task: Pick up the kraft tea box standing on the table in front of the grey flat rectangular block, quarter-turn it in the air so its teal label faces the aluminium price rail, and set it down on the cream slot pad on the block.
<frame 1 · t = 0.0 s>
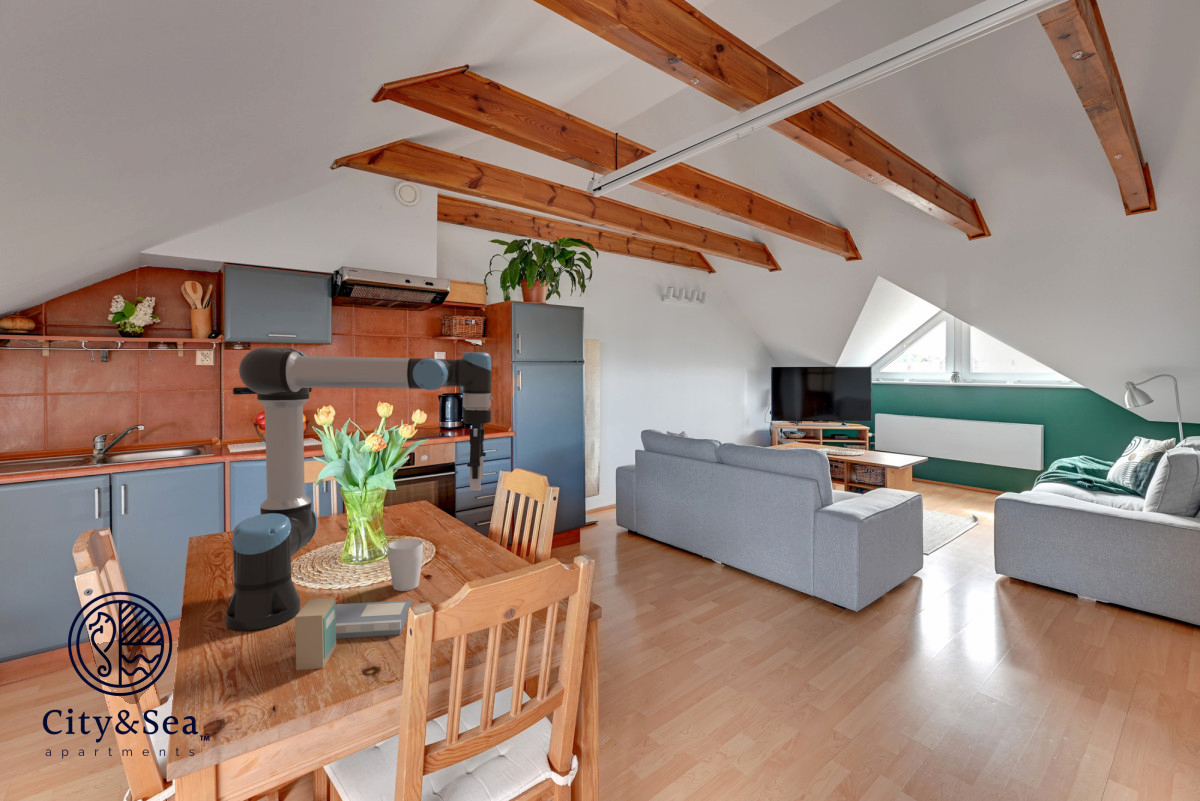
hand: (476, 484, 146), 28 cm above the table, fingers open, 13 cm apart
tea box: (317, 658, 110), on the table
cup: (405, 587, 145), on the table
grey flat rectangular block: (362, 621, 125), on the table
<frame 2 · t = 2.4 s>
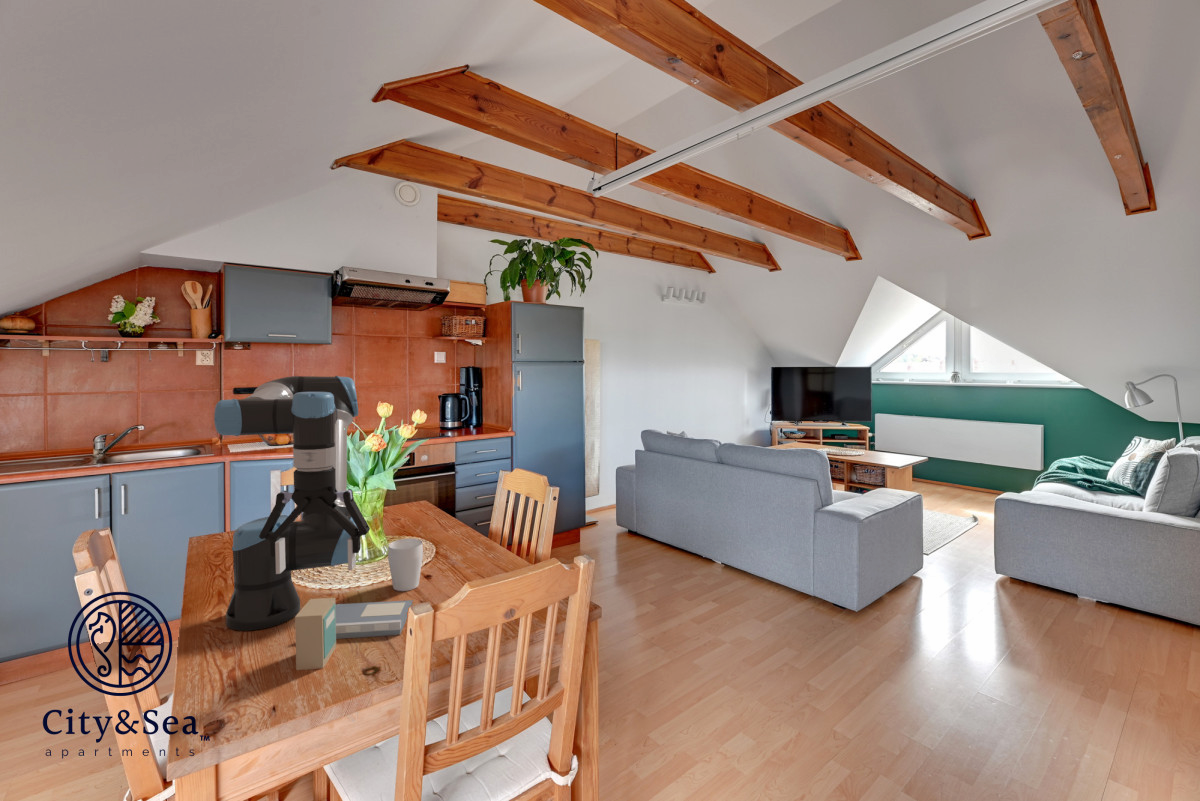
hand: (316, 569, 109), 19 cm above the table, fingers open, 13 cm apart
nothing on the table moved.
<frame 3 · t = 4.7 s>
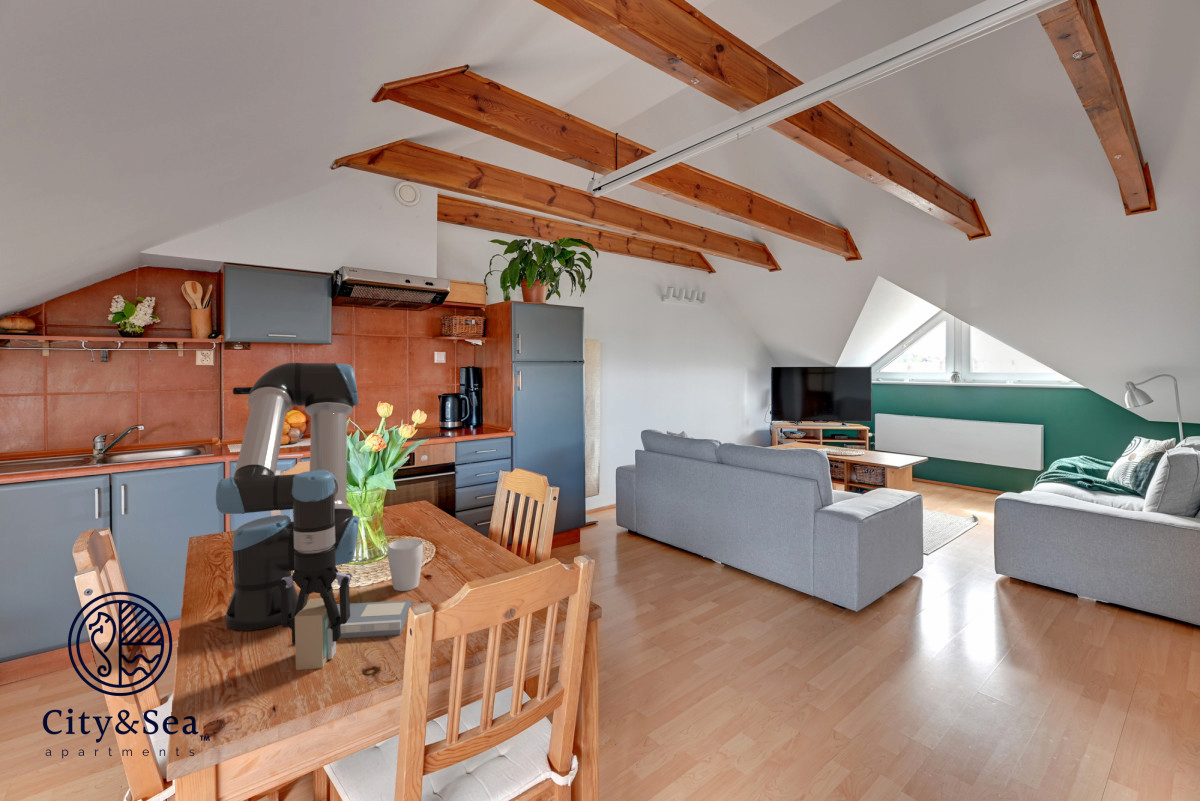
hand: (317, 656, 110), 0 cm above the table, fingers closed on tea box, 5 cm apart
tea box: (316, 657, 110), on the table, touching gripper
everything else where it was.
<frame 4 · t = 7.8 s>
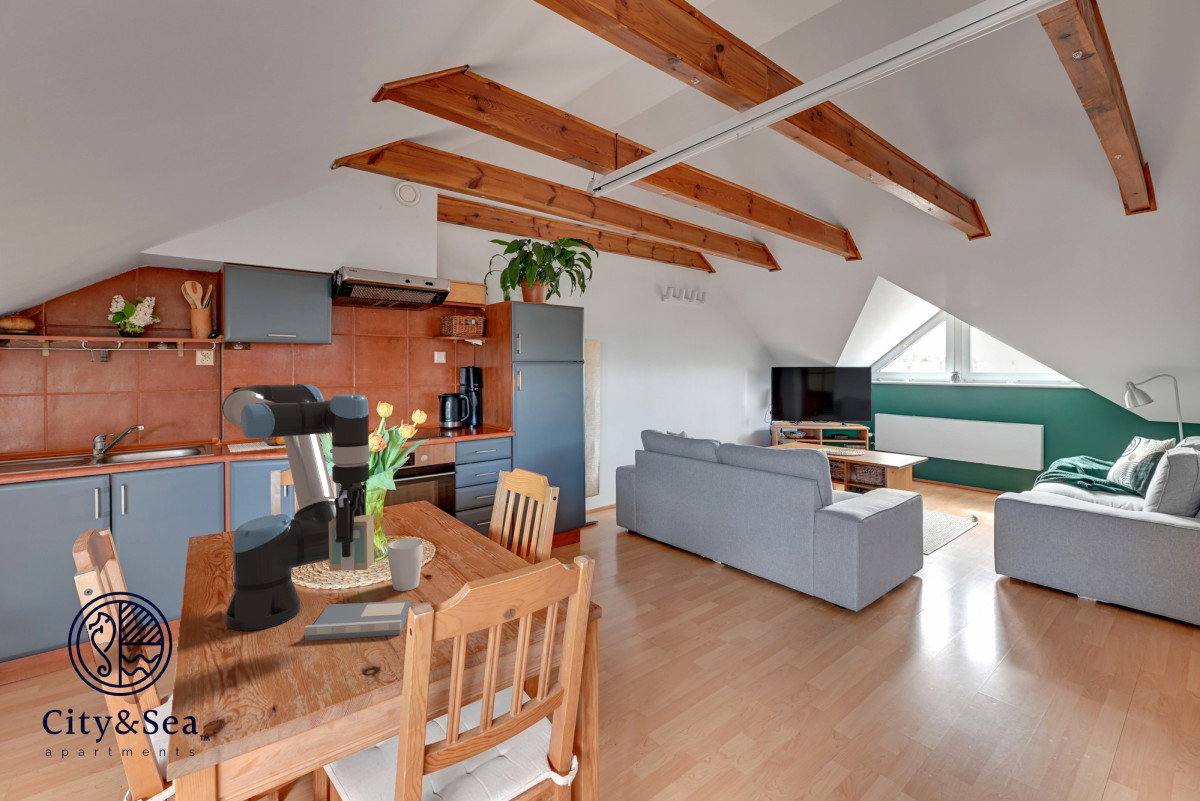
hand: (352, 564, 120), 16 cm above the table, fingers closed on tea box, 5 cm apart
tea box: (352, 566, 120), point 15 cm above the table, touching gripper
everything else where it was.
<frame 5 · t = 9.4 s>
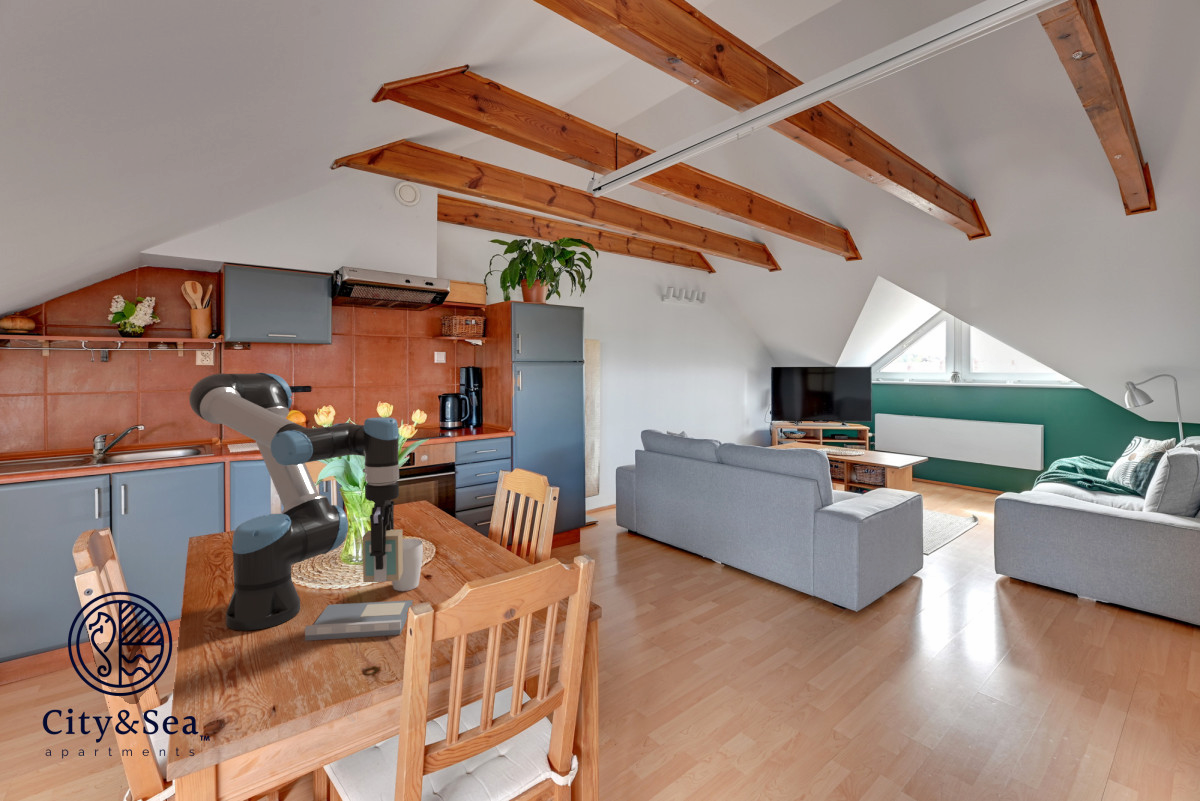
hand: (383, 576, 128), 10 cm above the table, fingers closed on tea box, 5 cm apart
tea box: (383, 577, 128), point 9 cm above the table, touching gripper
everything else where it was.
when the fingers open (3 cm above the table, at t = 10.9 s): tea box drops 1 cm, resting on grey flat rectangular block.
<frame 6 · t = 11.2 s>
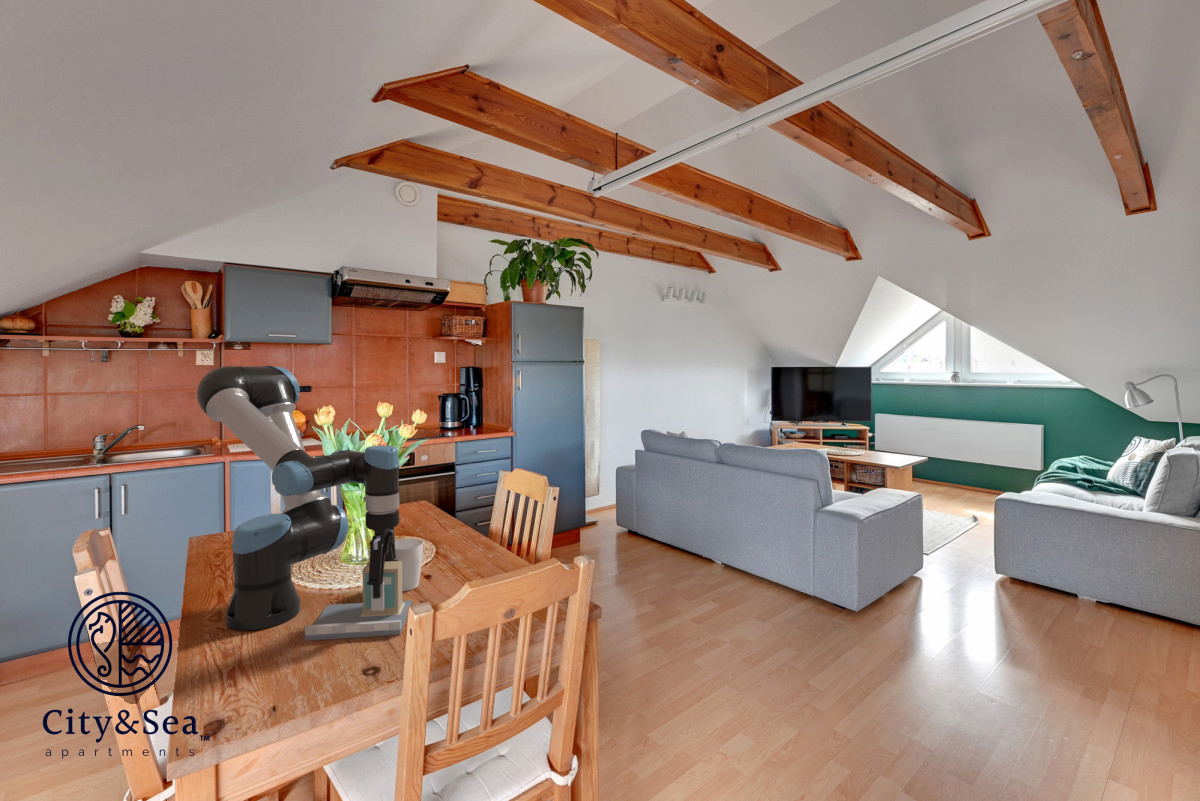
hand: (383, 599, 129), 4 cm above the table, fingers open, 10 cm apart
tea box: (383, 609, 129), point 1 cm above the table, touching grey flat rectangular block
everything else where it was.
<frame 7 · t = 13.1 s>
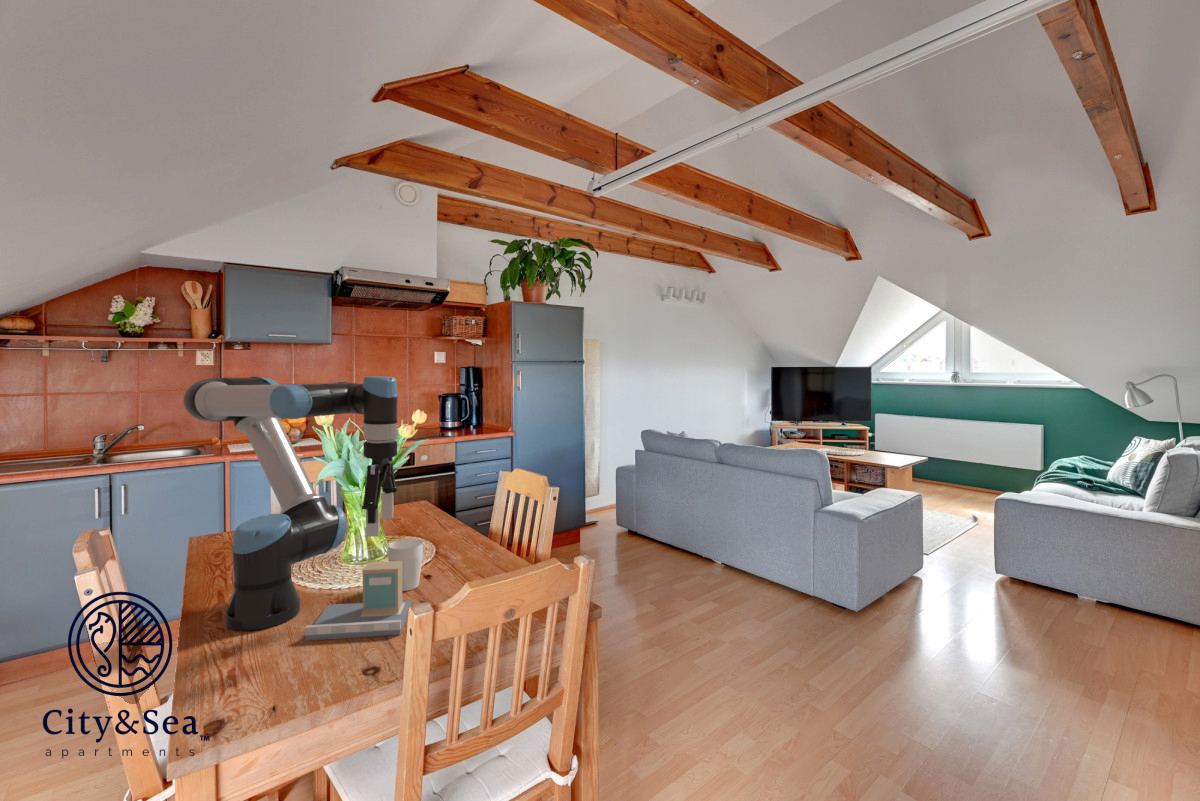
hand: (380, 526, 128), 22 cm above the table, fingers open, 13 cm apart
nothing on the table moved.
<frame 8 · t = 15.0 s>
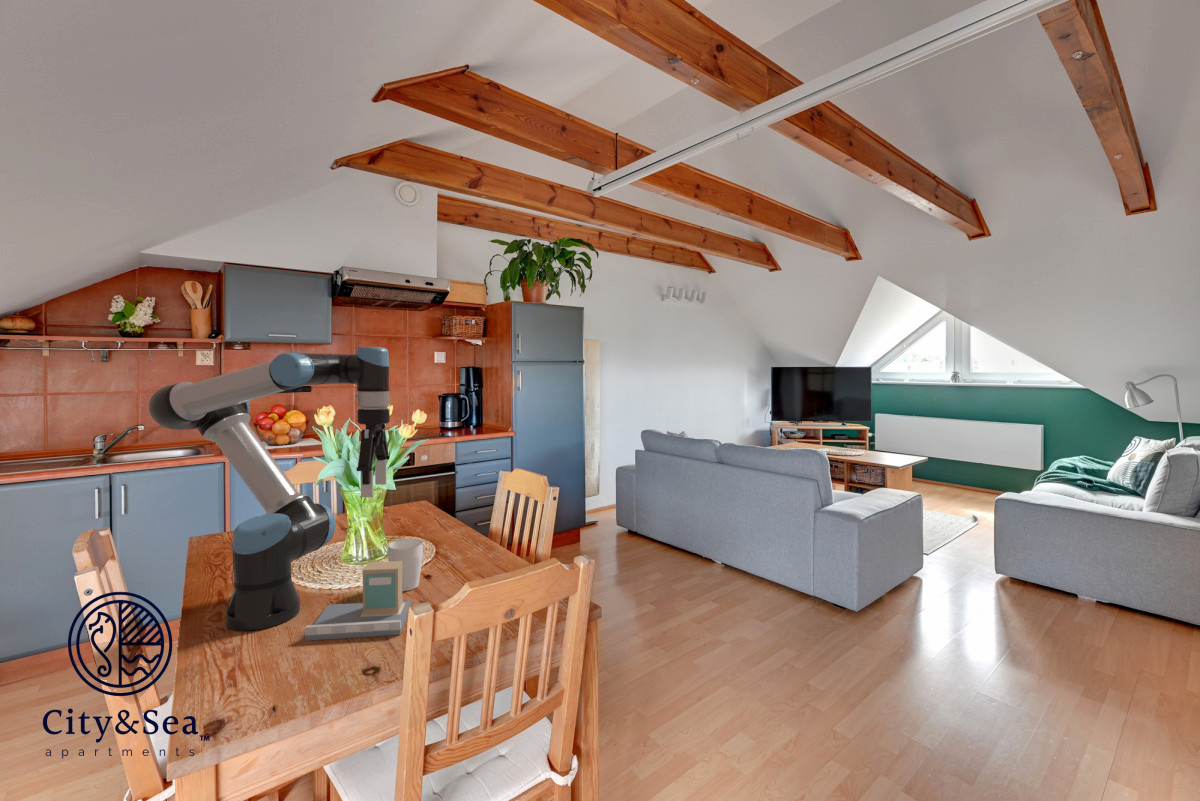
hand: (374, 490, 135), 29 cm above the table, fingers open, 13 cm apart
nothing on the table moved.
at the end: tea box 0.0 cm from the target spot on the grey flat rectangular block, point 1.3 cm above the grey flat rectangular block's base; tea box tilted 0°; the gripper is holding nothing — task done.
